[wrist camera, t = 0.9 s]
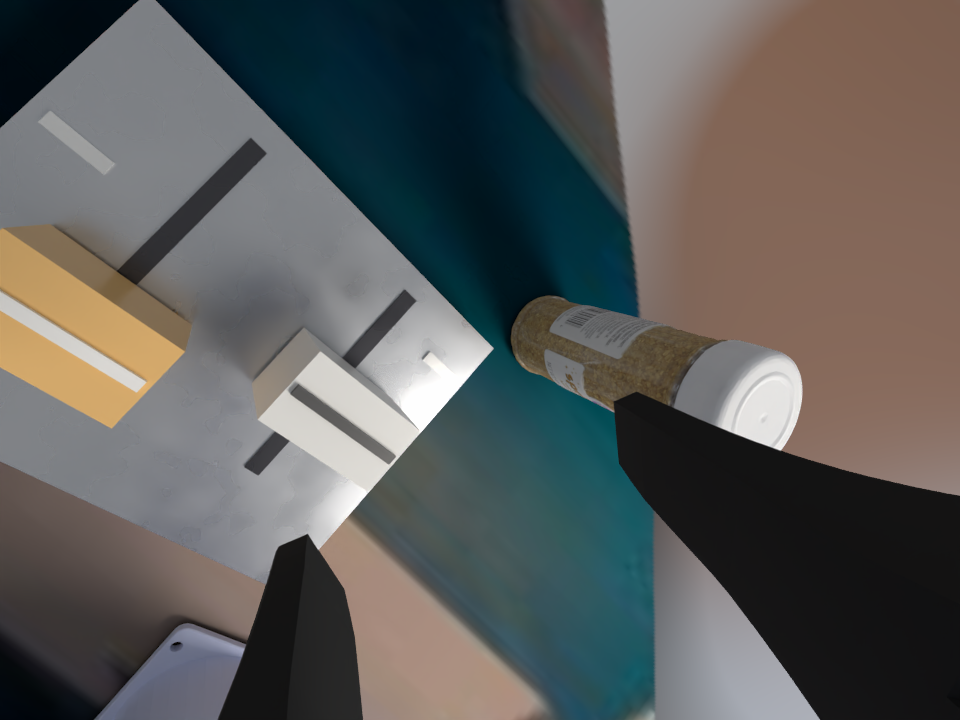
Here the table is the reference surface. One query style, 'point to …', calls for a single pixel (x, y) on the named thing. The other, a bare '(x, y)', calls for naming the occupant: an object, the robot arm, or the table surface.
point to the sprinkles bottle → (660, 367)
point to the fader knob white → (332, 411)
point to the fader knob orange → (80, 325)
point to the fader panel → (210, 294)
